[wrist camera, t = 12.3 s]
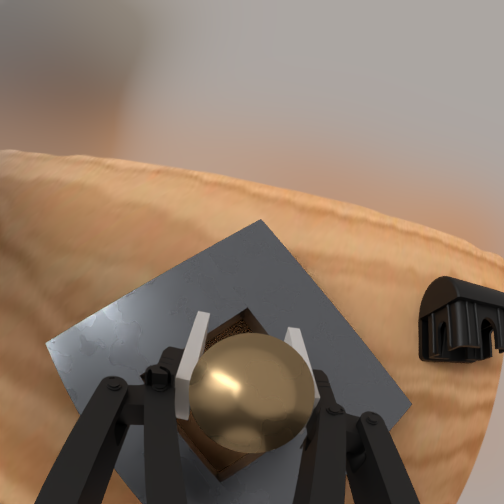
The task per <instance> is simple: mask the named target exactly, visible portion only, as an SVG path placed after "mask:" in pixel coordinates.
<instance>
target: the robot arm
mask: <svg viewBox="0 0 504 504" xmlns="http://www.w3.org/2000/svg"><path fill="white" fill-rule="evenodd" d="M209 317H210V313H206V312H201V311H198V313H197V315H196V318H195V321H194V324H193V327H192V330H191V333H190V336H189V339H188V342H187V345H186V347H185V350H184V349H180V348H175V347H171V346H169V347H167V348H166V349H165V350H163V352H162V355H161V357H160V359H159V362H158V364H156V365H151V366H149V367H148V368H146V370H145V384H142V385H128V384H127V382H126V381H125V380H124V379H123V378H121V377H118V376H107V377H105V378H103V379H102V380H101V382H100V383H99V385H98V387H97V388H96V390H95V392H94V393H93V395H92V397H91V398H90V400H89V402H88V403H87V405H86V407H85V409H84V410H83V412H82V414H81V415H80V417H79V419H78V421H77V422H76V424H75V426H74V428H73V430H72V431H71V433H70V435H69V437H68V439H67V440H66V442H65V444H64V446H63V448H62V450H61V451H60V453H59V455H58V457H57V459H56V461H55V463H54V465H53V467H52V469H51V471H50V473H49V474H48V476H47V478H46V480H45V482H44V484H43V486H42V489H41V491H40V493H39V495H38V497H37V499H36V501H35V503H34V504H101V503H102V500H103V497H104V494H105V492H106V489H107V486H108V483H109V480H110V477H111V475H112V472H113V469H114V466H115V464H116V461H117V458H118V456H119V453H120V450H121V448H122V445H123V443H124V440H125V437H126V435H127V432H128V430H129V427H130V425H144V467H145V487H146V502H147V504H188V503H187V497H186V491H185V485H184V479H183V472H182V465H181V457H180V450H179V441H178V433H177V423H176V418H180V419H184V420H188V419H189V414H190V409H191V407H190V402H189V383H190V379H191V375H192V372H193V370H194V367H195V366H196V364H197V362H198V360H199V359H200V358H201V357H202V355H203V353H204V348H205V342H206V336H207V329H208V323H209ZM284 342H286V343H287V344H289V345H290V346H291V347H293V348H294V349H295V350H296V351H297V352H298V353H299V354H300V355H301V356H302V358H303V359H304V361H305V362H306V363H307V365H308V367H309V369H310V372H311V374H312V377H313V381H314V388H315V400H314V406H313V409H312V413H311V415H310V417H309V420H308V422H307V423H306V425H305V426H304V428H303V429H302V430H301V431H300V433H299V434H303V432H304V430H305V428H306V430H307V435H306V437H305V439H304V441H303V443H302V445H301V446H300V449H302V447H303V450H302V456H301V462H300V468H299V473H298V479H297V484H296V489H295V494H294V499H293V504H344V499H345V478H346V473H347V477H348V480H349V484H350V488H351V492H352V496H353V500H354V503H355V504H420V502H419V500H418V497H417V495H416V493H415V490H414V488H413V485H412V483H411V481H410V478H409V476H408V474H407V471H406V469H405V467H404V464H403V462H402V460H401V457H400V455H399V453H398V451H397V448H396V446H395V444H394V442H393V440H392V437H391V435H390V433H389V431H388V429H387V426H386V424H385V422H384V420H383V418H382V417H381V416H380V415H379V414H377V413H375V412H370V411H367V412H364V413H362V414H361V416H360V417H358V416H354V415H350V414H347V413H346V411H345V409H344V408H343V407H342V406H341V405H339V404H337V403H336V400H335V397H334V394H333V391H332V388H331V386H330V383H329V380H328V377H327V375H326V374H325V373H324V372H323V371H322V370H316V369H312V368H311V365H310V361H309V358H308V355H307V351H306V348H305V345H304V341H303V338H302V335H301V331H300V329H298V328H292V327H288V329H287V333H286V336H285V339H284Z"/></svg>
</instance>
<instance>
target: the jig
mask: <svg viewBox="0 0 504 504" xmlns="http://www.w3.org/2000/svg"><path fill="white" fill-rule="evenodd" d="M198 311H201V312H206V313H210V317H209V323H208V329H207V336H206V342H205V343H207V342H208V341H210V340H211V339H213V338H214V337H216V336H217V335H219V334H221V333H222V332H224V331H225V330H227V329H228V328H230V327H231V326H233V325H234V324H236V323H237V322H239V321H240V320H242V319H243V320H244V321H245V323H246V324H247V325H248V327H249V328H250V329H251V331H252V332H253V333H259V334H265V335H270V336H273V337H275V338H278V339H280V340H282V341H284V339H285V336H286V333H287V329H288V327H292V328H298V329H300V331H301V335H302V338H303V341H304V345H305V348H306V351H307V355H308V358H309V361H310V365H311V368H312V369H316V370H322V371H323V372H324V373H325V374H326V375H327V377H328V380H329V383H330V386H331V388H332V391H333V394H334V397H335V400H336V403H337V404H339V405H341V406H342V407H343V408H344V409H345V411H346V413H347V414H350V415H354V416H358V417H360V416H361V414H362V413H364V412H367V411H370V412H375V413H377V414H379V415H380V416H381V417H382V418H383V420H384V422H385V424H386V426H387V429H388V431H390V430H391V429H392V427H393V426H394V425H395V424H396V423H397V422H398V421H399V419H400V418H401V417H402V416H403V415H404V413H405V412H406V411H407V410H408V408H409V407H410V406H411V405H412V403H411V402H410V401H409V399H408V398H407V397H406V396H405V394H404V393H403V392H402V390H401V389H400V388H399V386H398V385H397V384H396V383H395V381H394V380H393V379H392V377H391V376H390V375H389V374H388V372H387V371H386V370H385V368H384V367H383V366H382V365H381V363H380V362H379V361H378V360H377V358H376V357H375V356H374V355H373V353H372V352H371V351H370V349H369V348H368V347H367V346H366V344H365V343H364V342H363V341H362V339H361V338H360V337H359V336H358V334H357V333H356V332H355V331H354V330H353V328H352V327H351V326H350V325H349V323H348V322H347V321H346V320H345V318H344V317H343V316H342V315H341V313H340V312H339V311H338V310H337V309H336V307H335V306H334V305H333V304H332V303H331V301H330V300H329V299H328V298H327V296H326V295H325V294H324V293H323V292H322V290H321V289H320V288H319V287H318V286H317V284H316V283H315V282H314V281H313V280H312V278H311V277H310V276H309V275H308V274H307V272H306V271H305V270H304V269H303V268H302V266H301V265H300V264H299V263H298V262H297V260H296V259H295V258H294V257H293V256H292V255H291V253H290V252H289V251H288V250H287V249H286V248H285V246H284V245H283V244H282V243H281V242H280V240H279V239H278V238H277V237H276V236H275V235H274V233H273V232H272V231H271V230H270V229H269V228H268V227H267V225H266V224H265V223H264V222H263V221H262V220H261V219H260V220H258V221H256V222H255V223H253V224H251V225H249V226H247V227H245V228H244V229H242V230H240V231H238V232H236V233H234V234H233V235H231V236H229V237H227V238H225V239H224V240H222V241H220V242H218V243H216V244H214V245H213V246H211V247H209V248H207V249H205V250H204V251H202V252H200V253H198V254H197V255H195V256H193V257H191V258H189V259H188V260H186V261H184V262H182V263H181V264H179V265H177V266H175V267H173V268H172V269H170V270H168V271H166V272H165V273H163V274H161V275H159V276H158V277H156V278H154V279H152V280H151V281H149V282H147V283H146V284H144V285H142V286H140V287H139V288H137V289H135V290H133V291H132V292H130V293H128V294H127V295H125V296H123V297H121V298H120V299H118V300H116V301H115V302H113V303H111V304H110V305H108V306H106V307H104V308H103V309H101V310H99V311H98V312H96V313H94V314H93V315H91V316H89V317H88V318H86V319H84V320H83V321H81V322H79V323H78V324H76V325H74V326H73V327H71V328H69V329H68V330H66V331H64V332H63V333H61V334H60V335H58V336H56V337H55V338H53V339H51V340H50V341H48V342H47V343H46V345H47V348H48V350H49V353H50V355H51V357H52V360H53V362H54V364H55V367H56V369H57V371H58V373H59V375H60V377H61V380H62V382H63V384H64V386H65V388H66V390H67V392H68V394H69V396H70V398H71V400H72V401H73V403H74V405H75V407H76V409H77V411H78V412H79V414H80V415H81V414H82V412H83V410H84V409H85V407H86V405H87V403H88V402H89V400H90V398H91V397H92V395H93V393H94V392H95V390H96V388H97V387H98V385H99V383H100V382H101V380H102V379H103V378H105V377H107V376H118V377H121V378H123V379H124V380H125V381H126V382H127V384H128V385H142V384H145V370H146V368H148V367H149V366H151V365H156V364H158V362H159V359H160V357H161V355H162V352H163V350H165V349H166V348H167V347H169V346H171V347H175V348H180V349H184V350H185V347H186V345H187V342H188V339H189V336H190V333H191V330H192V327H193V324H194V321H195V318H196V315H197V313H198ZM176 423H177V421H176ZM177 433H178V441H179V450H180V457H181V465H182V472H183V479H184V485H185V491H186V497H187V503H188V504H293V499H294V494H295V489H296V484H297V479H298V473H299V468H300V462H301V456H302V450H303V447H302V449H300V446H301V445H302V443H303V441H304V439H305V437H306V435H307V430H306V428H305V430H304V432H303V434H298V435H297V436H296V437H294V438H293V439H292V440H291V441H289V442H288V443H286V444H285V445H283V446H281V447H279V448H277V449H274V450H271V451H267V452H262V453H248V454H247V455H245V456H244V457H242V458H241V459H239V460H238V461H236V462H235V463H233V464H232V465H230V466H228V467H227V468H225V469H224V470H222V471H220V472H219V473H218V472H217V471H216V470H215V469H214V467H213V466H212V465H211V464H210V463H209V462H208V460H207V459H206V458H205V457H204V456H203V454H202V453H201V452H200V451H199V450H198V448H197V447H196V446H195V445H194V443H193V442H192V441H191V440H190V438H189V437H188V436H187V434H186V433H185V432H184V431H183V429H182V428H181V427H180V425H179V424H178V423H177ZM114 469H115V470H116V471H117V473H118V474H119V475H120V477H121V478H122V479H123V481H124V482H125V483H126V484H127V486H128V487H129V488H130V489H131V491H132V492H133V493H134V494H135V495H136V497H137V498H138V499H139V500H140V501H141V503H142V504H147V502H146V487H145V467H144V425H130V427H129V430H128V432H127V435H126V437H125V440H124V443H123V445H122V448H121V450H120V453H119V456H118V458H117V461H116V464H115V466H114ZM346 474H347V473H346Z"/></svg>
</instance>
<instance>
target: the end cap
mask: <svg viewBox="0 0 504 504" xmlns="http://www.w3.org/2000/svg"><path fill="white" fill-rule="evenodd" d="M418 329H419V358H420V360H422V361H433V362H453V363H473V362H475V361H480V360H484V359H487V358H490V357H492V342H491V333H492V331H494V339H495V349H499V353H503V352H504V293H503V292H500V291H497V290H494V289H490V288H487V287H483V286H480V285H477V284H473V283H470V282H466V281H463V280H459V279H456V278H452V277H448V276H442V277H439V278H437V279H435V280H434V281H433V282H432V283H431V284H430V285H429V287H428V288H427V290H426V291H425V294H424V296H423V298H422V301H421V306H420V312H419V322H418Z"/></svg>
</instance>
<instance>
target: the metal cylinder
mask: <svg viewBox="0 0 504 504" xmlns="http://www.w3.org/2000/svg"><path fill="white" fill-rule="evenodd" d="M314 400H315V388H314V381H313V377H312V374H311V372H310V369H309V367H308V365H307V363H306V362H305V361H304V359H303V358H302V356H301V355H300V354H299V353H298V352H297V351H296V350H295V349H294V348H293V347H291V346H290V345H289V344H287V343H286V342H284V341H282V340H280V339H278V338H275V337H273V336H270V335H265V334H259V333H243V334H237V335H234V336H230V337H228V338H225V339H223V340H221V341H219V342H217V343H216V344H214V345H213V346H212V347H210V348H209V349H208V350H207V351H206V352H205V353H204V354H203V355H202V357H201V358H200V359H199V360H198V362H197V364H196V366H195V367H194V370H193V372H192V375H191V379H190V383H189V402H190V407H191V411H192V414H193V416H194V418H195V420H196V422H197V424H198V425H199V427H200V428H201V429H202V430H203V432H204V433H205V434H206V435H207V436H208V437H209V438H211V439H212V440H213V441H214V442H216V443H218V444H219V445H221V446H223V447H225V448H227V449H230V450H233V451H237V452H242V453H262V452H267V451H271V450H274V449H277V448H279V447H281V446H283V445H285V444H286V443H288V442H289V441H291V440H292V439H293V438H294V437H296V436H297V435H298V434H299V433H300V431H301V430H302V429H303V428H304V426H305V425H306V423H307V422H308V420H309V417H310V415H311V413H312V409H313V406H314Z"/></svg>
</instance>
